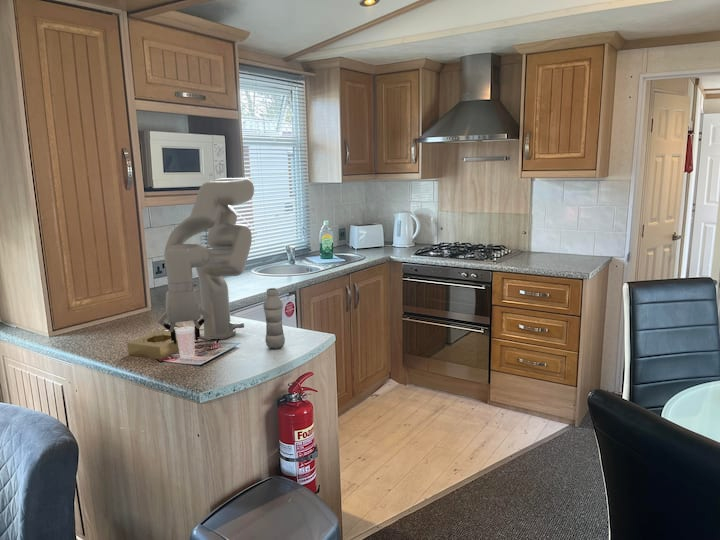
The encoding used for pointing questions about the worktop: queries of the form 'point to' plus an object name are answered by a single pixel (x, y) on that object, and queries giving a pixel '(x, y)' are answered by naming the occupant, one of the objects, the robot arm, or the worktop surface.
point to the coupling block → (153, 345)
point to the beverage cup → (185, 341)
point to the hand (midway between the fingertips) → (185, 340)
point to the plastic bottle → (273, 319)
